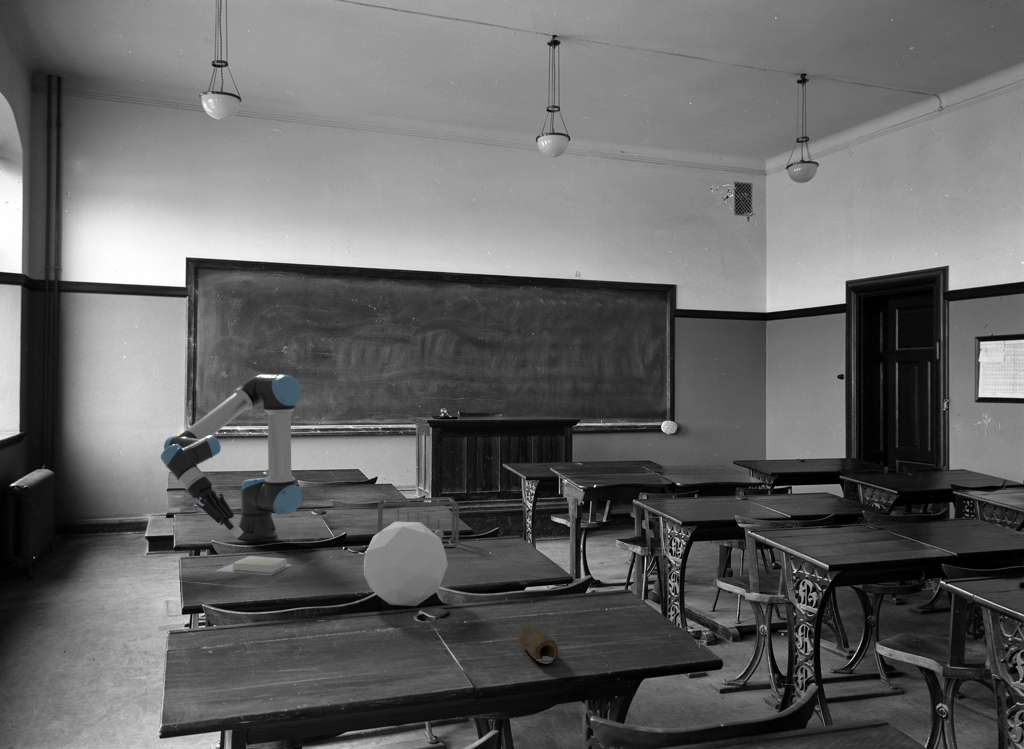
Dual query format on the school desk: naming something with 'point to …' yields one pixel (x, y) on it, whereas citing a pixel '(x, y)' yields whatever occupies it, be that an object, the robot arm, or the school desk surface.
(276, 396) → the robot arm
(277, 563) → the tile
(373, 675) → the school desk surface
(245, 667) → the school desk surface
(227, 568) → the mat
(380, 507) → the newton's cradle
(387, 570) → the geometric polyhedron
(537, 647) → the brown hollow tube
